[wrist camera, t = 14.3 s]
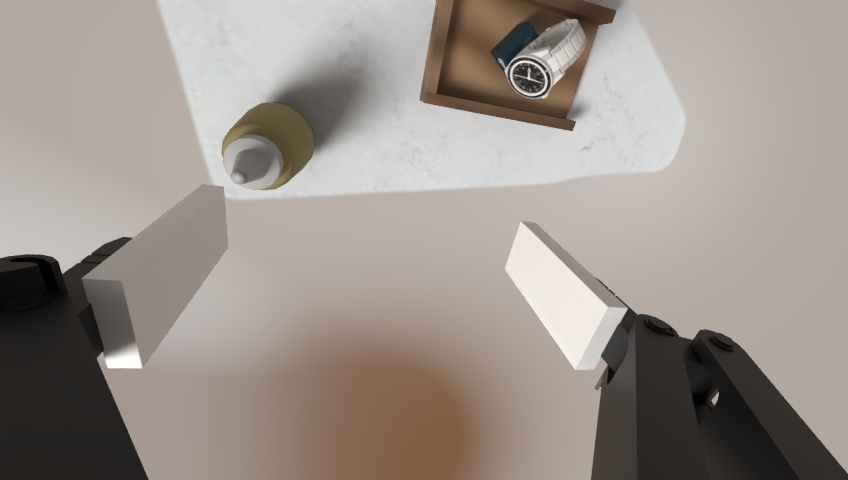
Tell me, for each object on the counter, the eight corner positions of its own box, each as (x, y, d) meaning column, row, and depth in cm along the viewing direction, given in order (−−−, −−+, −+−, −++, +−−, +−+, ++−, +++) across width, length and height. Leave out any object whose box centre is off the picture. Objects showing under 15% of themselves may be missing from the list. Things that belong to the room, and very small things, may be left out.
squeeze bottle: (235, 109, 40) (155, 140, 24) (302, 90, 40) (265, 109, 24) (267, 173, 44) (215, 236, 28) (327, 156, 44) (310, 208, 28)
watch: (477, 64, 41) (513, 65, 31) (530, 11, 39) (585, -5, 30) (503, 100, 44) (543, 111, 34) (553, 52, 42) (611, 50, 32)
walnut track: (441, -31, 37) (448, -39, 34) (597, 14, 42) (616, 10, 39) (419, 99, 43) (424, 102, 40) (558, 126, 47) (572, 131, 44)
